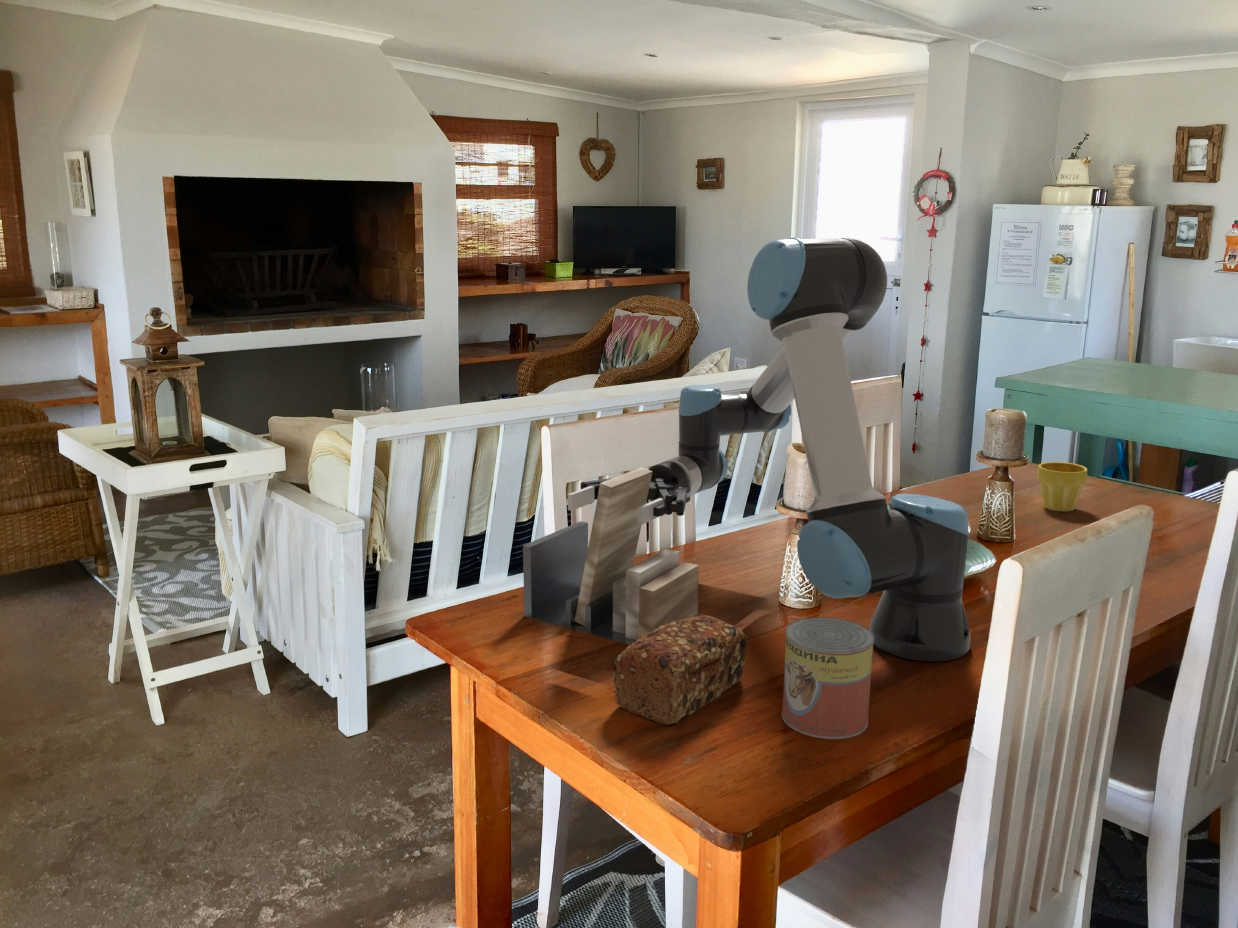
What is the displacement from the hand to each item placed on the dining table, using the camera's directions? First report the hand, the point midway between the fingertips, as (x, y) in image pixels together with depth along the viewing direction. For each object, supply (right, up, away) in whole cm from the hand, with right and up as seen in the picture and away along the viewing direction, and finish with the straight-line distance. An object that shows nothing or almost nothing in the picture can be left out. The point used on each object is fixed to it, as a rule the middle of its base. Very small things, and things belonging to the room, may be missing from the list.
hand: (603, 509), depth 161 cm
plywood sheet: (-1, -17, +3) cm, 17 cm away
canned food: (+30, -27, -28) cm, 49 cm away
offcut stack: (+8, -18, -2) cm, 20 cm away
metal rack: (+1, -19, +3) cm, 19 cm away
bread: (+11, -25, -21) cm, 34 cm away
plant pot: (+104, -3, +70) cm, 125 cm away
